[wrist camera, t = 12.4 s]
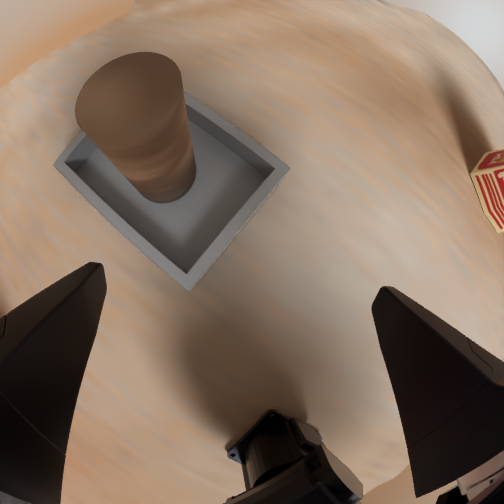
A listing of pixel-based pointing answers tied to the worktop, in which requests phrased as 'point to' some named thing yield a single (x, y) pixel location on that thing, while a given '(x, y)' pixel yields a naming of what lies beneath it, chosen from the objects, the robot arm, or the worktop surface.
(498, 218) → the milk carton
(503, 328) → the worktop surface
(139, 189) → the walnut cylinder
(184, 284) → the box
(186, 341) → the worktop surface
